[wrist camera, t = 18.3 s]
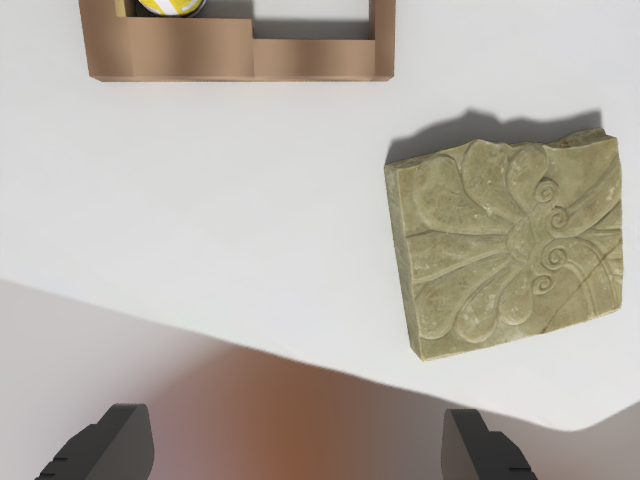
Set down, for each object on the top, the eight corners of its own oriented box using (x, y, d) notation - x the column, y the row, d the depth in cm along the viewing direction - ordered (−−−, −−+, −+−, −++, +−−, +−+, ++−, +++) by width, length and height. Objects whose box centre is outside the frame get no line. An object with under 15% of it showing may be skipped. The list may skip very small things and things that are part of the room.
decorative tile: (600, 302, 38) (632, 317, 34) (409, 349, 37) (422, 369, 33) (594, 111, 33) (631, 106, 30) (377, 158, 32) (389, 158, 29)
